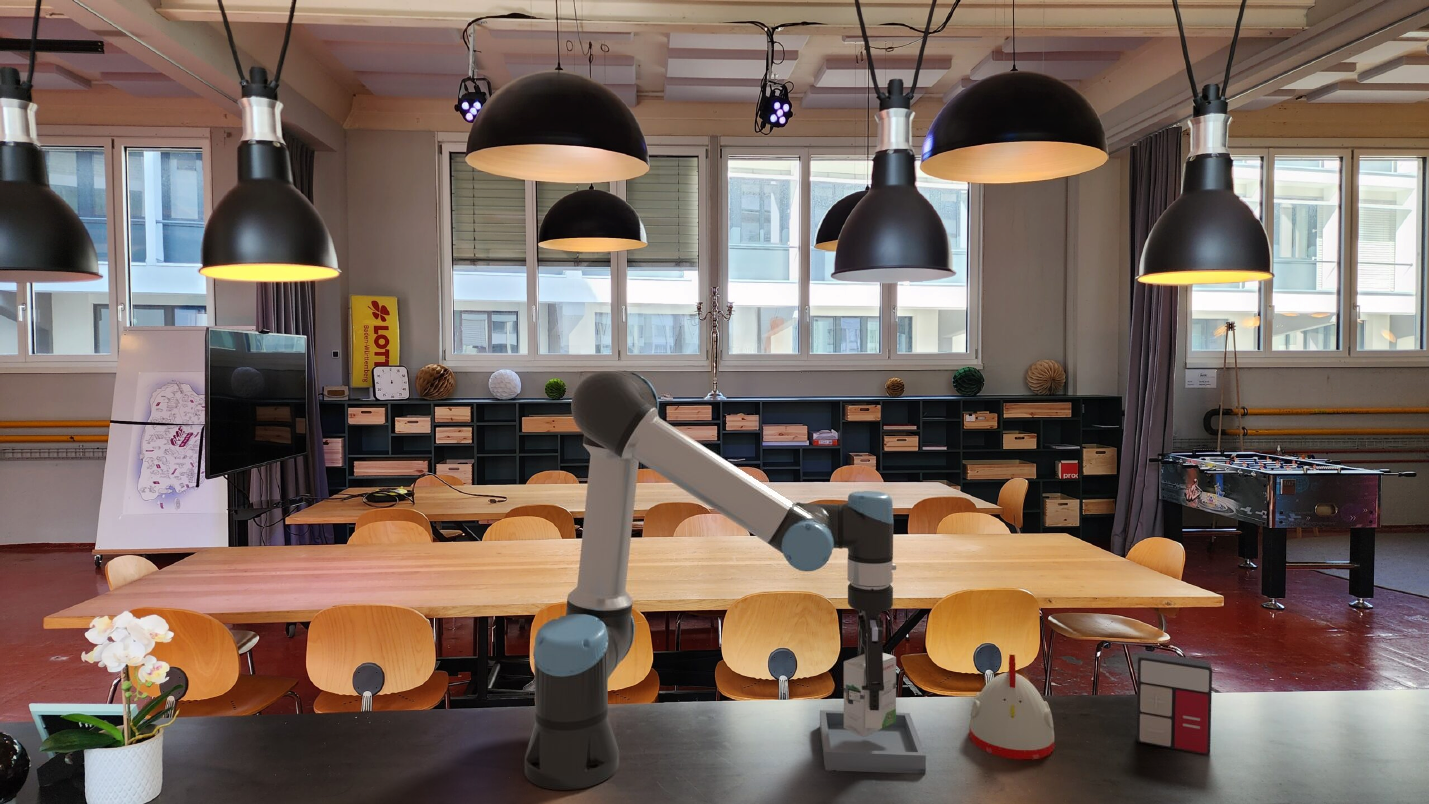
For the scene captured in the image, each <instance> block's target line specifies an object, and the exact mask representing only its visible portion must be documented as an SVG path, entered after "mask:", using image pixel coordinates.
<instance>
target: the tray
mask: <svg viewBox="0 0 1429 804" xmlns="http://www.w3.org/2000/svg"><path fill="white" fill-rule="evenodd" d="M819 730H820V732H821V733H820V739H821V748H822V749H823V750H822V757H823V758H822V759H823V764H824V765H823V766H825V767H824V770H825V771H833V770H836V771H837V772H839V771H840V772H846V771H847V772H862V773H863V772H868V773H891V774H892V773H894V774H895V773H896V774H916V775H917V774H918V775H925V774H927V773H926V772H927V771H926V770H927V769H926V766H927V765H926V761H927V759H926V757H927V755H926V753H925V750H924V747H923V744H922V742H921V739H920V736H919V734H918V732H917V729H916V726H915V723H914V721H913V717H912V716H911V713H910V712H896V722H895V723H893V724H891V725H889V726H887V727H885V728H883V729H880V730H878V731H876V732H874V733H872V734H870V735H868V736H865V737H862V736H860V735H858V734H856V733H854V732H851V731H849V730H847V729H845V728H844V710H824V709H823V710H821V709H820V710H819Z"/></svg>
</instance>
